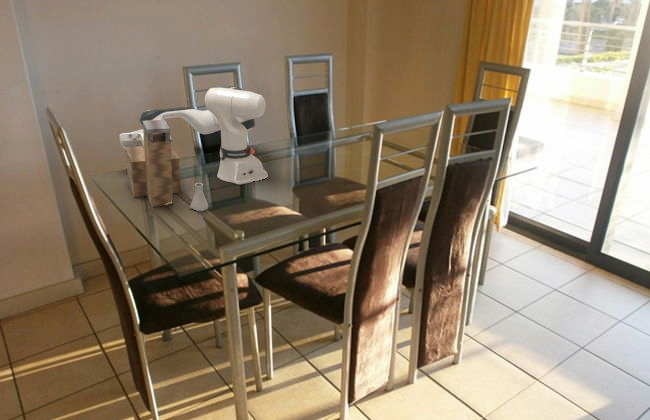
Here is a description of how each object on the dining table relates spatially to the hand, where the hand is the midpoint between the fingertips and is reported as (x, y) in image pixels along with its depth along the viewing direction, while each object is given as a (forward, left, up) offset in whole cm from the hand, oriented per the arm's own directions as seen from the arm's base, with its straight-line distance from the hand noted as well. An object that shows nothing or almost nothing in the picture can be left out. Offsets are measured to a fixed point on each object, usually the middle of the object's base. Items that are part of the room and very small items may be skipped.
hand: (146, 134), depth 213 cm
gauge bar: (0, +7, -4) cm, 8 cm away
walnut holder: (0, +16, -19) cm, 25 cm away
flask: (-13, +34, -19) cm, 41 cm away
